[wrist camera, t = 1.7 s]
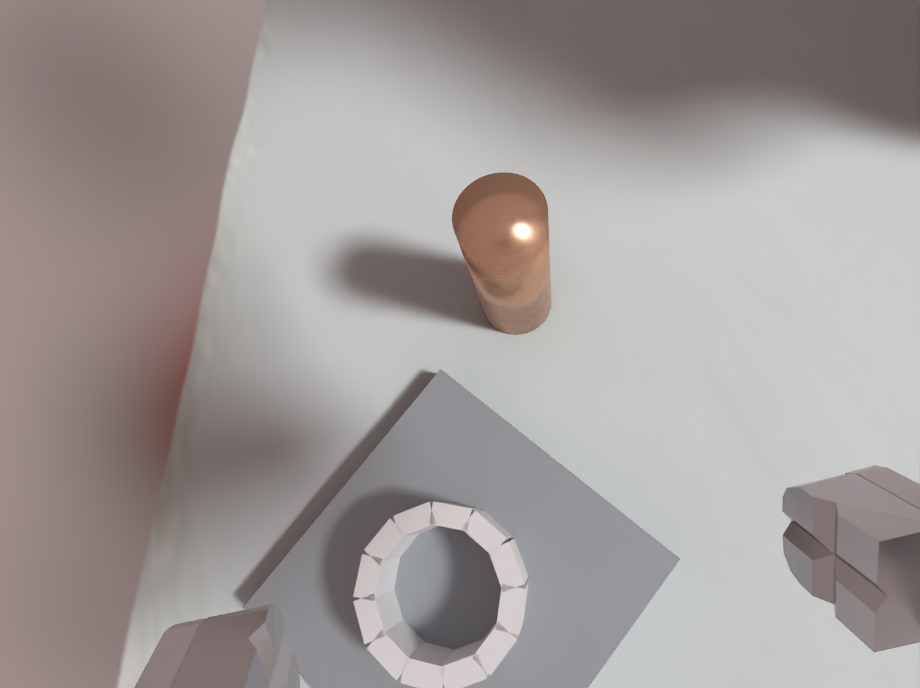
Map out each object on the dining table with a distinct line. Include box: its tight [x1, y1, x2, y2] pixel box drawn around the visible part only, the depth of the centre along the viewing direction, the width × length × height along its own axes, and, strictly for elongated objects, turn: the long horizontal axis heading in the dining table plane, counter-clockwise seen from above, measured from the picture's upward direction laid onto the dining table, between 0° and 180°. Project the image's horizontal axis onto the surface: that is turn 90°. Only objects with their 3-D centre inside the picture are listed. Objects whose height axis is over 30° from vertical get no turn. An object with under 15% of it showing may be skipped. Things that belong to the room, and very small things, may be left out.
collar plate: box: [243, 369, 680, 688], centre depth 26 cm, size 16×15×4 cm
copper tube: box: [452, 173, 551, 335], centre depth 27 cm, size 4×4×10 cm
